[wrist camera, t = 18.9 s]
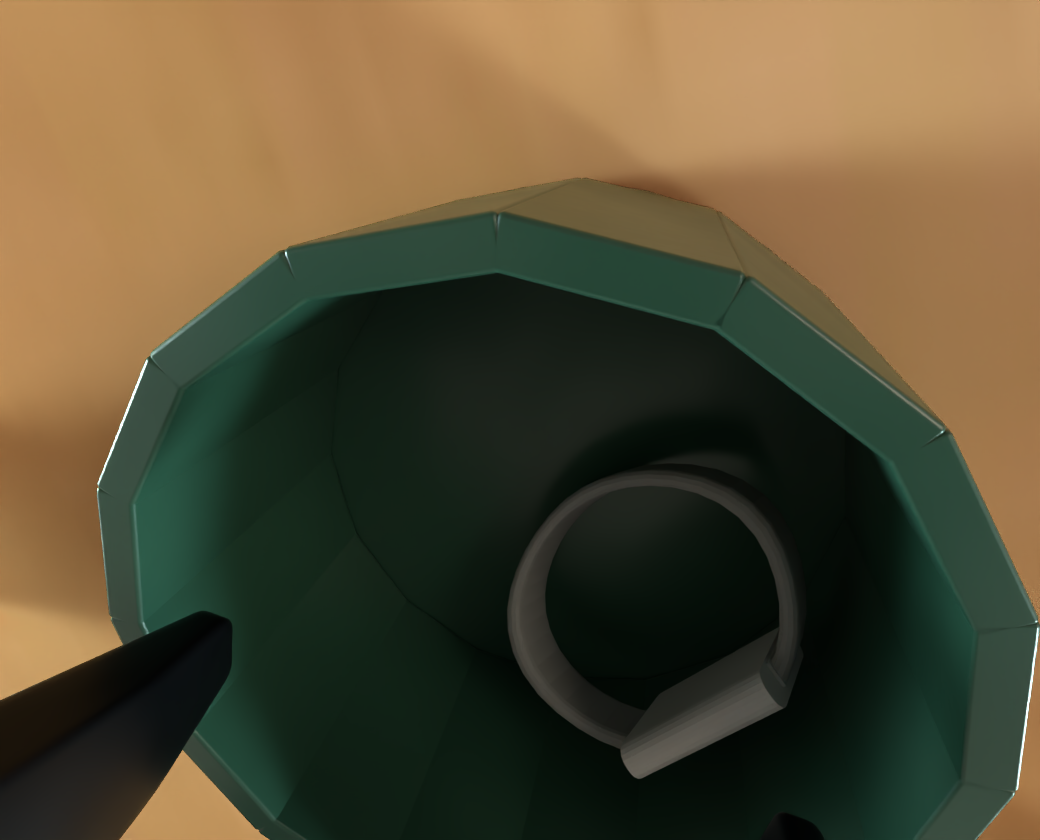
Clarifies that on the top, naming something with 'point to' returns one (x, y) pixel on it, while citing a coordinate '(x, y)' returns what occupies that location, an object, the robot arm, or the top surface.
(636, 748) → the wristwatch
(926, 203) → the top surface
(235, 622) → the tin
